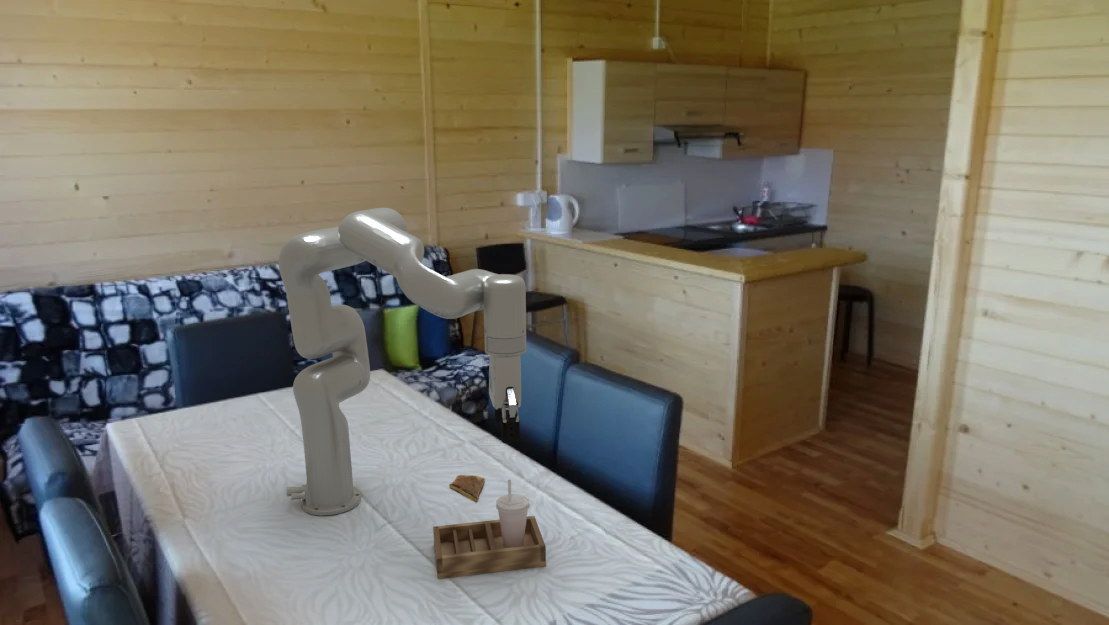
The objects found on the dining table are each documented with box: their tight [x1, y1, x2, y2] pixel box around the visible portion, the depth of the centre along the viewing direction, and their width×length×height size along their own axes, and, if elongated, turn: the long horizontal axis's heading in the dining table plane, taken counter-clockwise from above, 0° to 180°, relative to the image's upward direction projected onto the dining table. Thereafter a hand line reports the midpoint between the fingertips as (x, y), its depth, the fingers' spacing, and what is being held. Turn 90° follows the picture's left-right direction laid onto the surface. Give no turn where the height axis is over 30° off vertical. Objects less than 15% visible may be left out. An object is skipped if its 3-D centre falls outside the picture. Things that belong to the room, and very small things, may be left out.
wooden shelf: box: [432, 515, 547, 580], centre depth 151 cm, size 20×12×4 cm, turn 101°
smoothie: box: [495, 479, 531, 548], centre depth 150 cm, size 6×6×14 cm
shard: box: [449, 474, 486, 502], centre depth 178 cm, size 11×8×2 cm
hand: (507, 431), depth 147 cm, fingers open, 9 cm apart
